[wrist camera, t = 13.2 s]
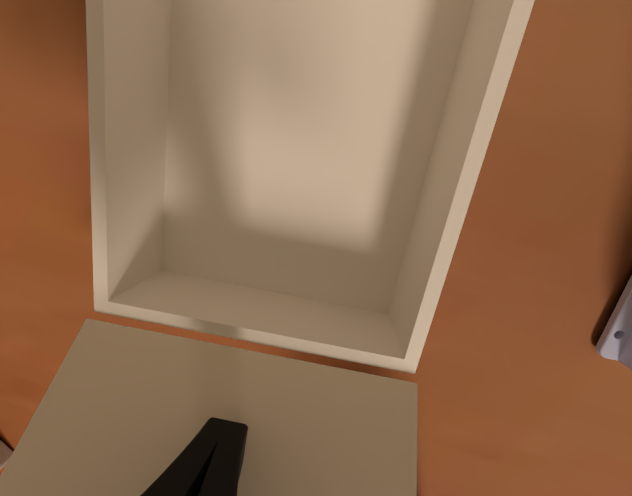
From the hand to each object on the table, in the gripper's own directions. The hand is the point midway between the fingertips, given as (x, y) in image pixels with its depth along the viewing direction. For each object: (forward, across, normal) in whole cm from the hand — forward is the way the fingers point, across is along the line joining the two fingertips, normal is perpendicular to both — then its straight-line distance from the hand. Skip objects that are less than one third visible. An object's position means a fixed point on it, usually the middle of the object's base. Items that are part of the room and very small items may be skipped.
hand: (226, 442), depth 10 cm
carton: (+7, 0, -12) cm, 14 cm away
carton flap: (0, 0, +1) cm, 1 cm away
